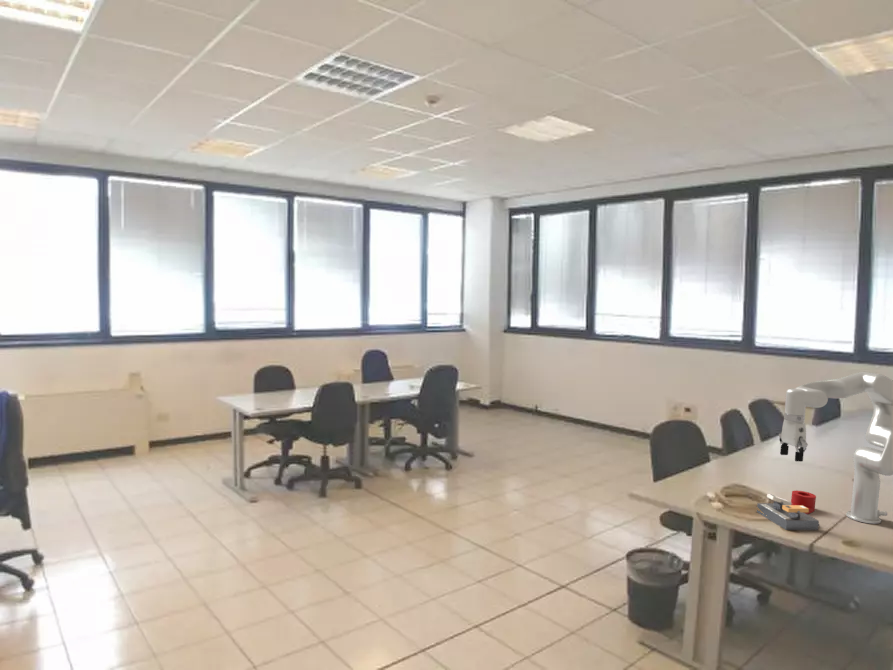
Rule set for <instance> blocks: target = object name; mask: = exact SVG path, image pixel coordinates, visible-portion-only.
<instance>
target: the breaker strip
mask: <svg viewBox="0 0 893 670" xmlns="http://www.w3.org/2000/svg"><path fill="white" fill-rule="evenodd" d="M782 505H785V504H781V503H779V502H777V501H774V500H773V503H770V502H768V503H766V502H765V503H764V502H757V506H756V508H757V507H758V508H759V509H760V510H761V511H762V512H763V513H764V514H763V513H761V512H760V511H758V510H757V509H756V513H757V514H759V515H761V516H762V517H764V518H766V519H767V520H768V521H771V522H772V523H774V524H776V525H777V526H779V527H780V528H782V529H784V530H785V531H819V526H818V524H819V525H820V520H818V519H817V518H815V517H813V516H811V515H810V514H808V515H807V514H806V513H804V512H800V513H797V512H787V511H785V510H783V509H782ZM766 515H767V516H766Z"/></svg>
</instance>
